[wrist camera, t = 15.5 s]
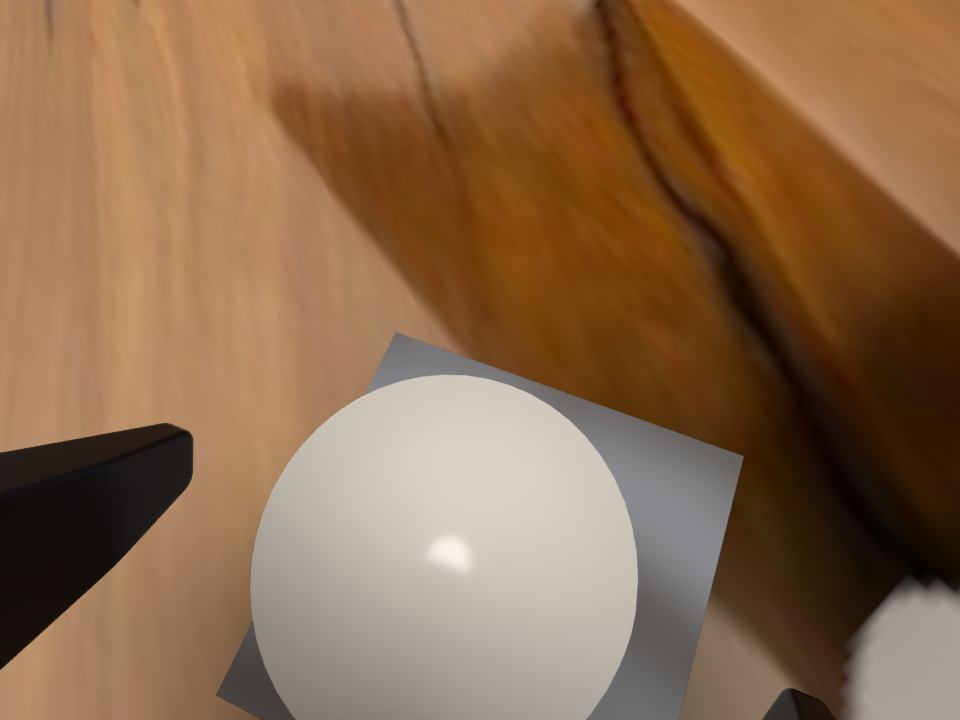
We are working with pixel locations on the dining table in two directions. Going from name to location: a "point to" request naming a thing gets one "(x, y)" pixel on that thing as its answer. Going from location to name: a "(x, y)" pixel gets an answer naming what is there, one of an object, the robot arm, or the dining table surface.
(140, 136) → the dining table surface
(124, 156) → the dining table surface
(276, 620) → the cream cylindrical piece
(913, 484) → the dining table surface
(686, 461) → the grey block
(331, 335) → the dining table surface
